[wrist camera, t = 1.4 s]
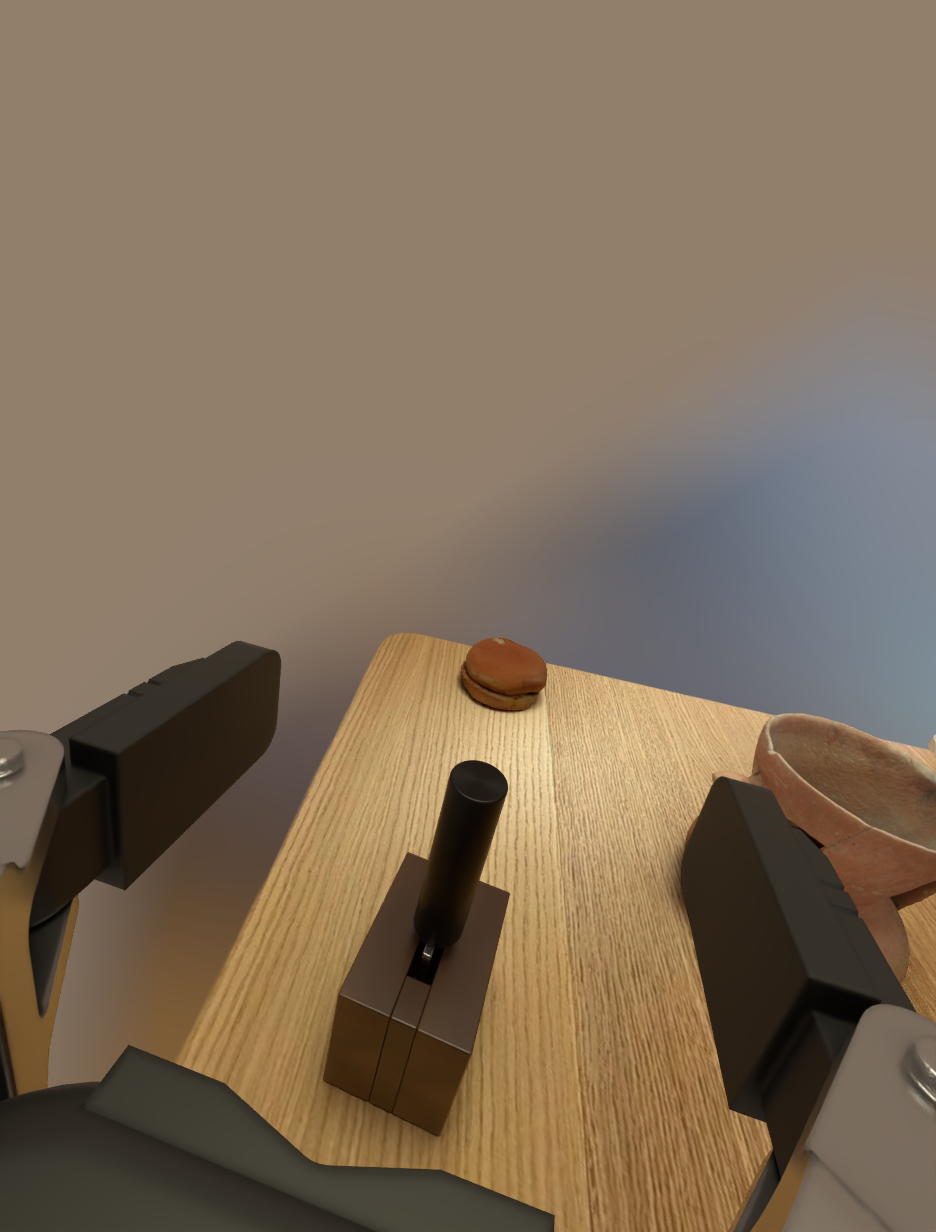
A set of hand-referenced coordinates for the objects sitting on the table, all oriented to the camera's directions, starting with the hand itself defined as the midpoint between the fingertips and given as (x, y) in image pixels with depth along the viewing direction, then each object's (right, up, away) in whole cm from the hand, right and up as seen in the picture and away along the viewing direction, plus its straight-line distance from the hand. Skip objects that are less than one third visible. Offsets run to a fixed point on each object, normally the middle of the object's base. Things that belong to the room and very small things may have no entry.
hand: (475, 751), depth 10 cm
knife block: (-3, -19, +19) cm, 27 cm away
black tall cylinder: (-3, -19, +19) cm, 27 cm away
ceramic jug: (+23, -20, +30) cm, 43 cm away
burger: (+3, -6, +51) cm, 51 cm away
